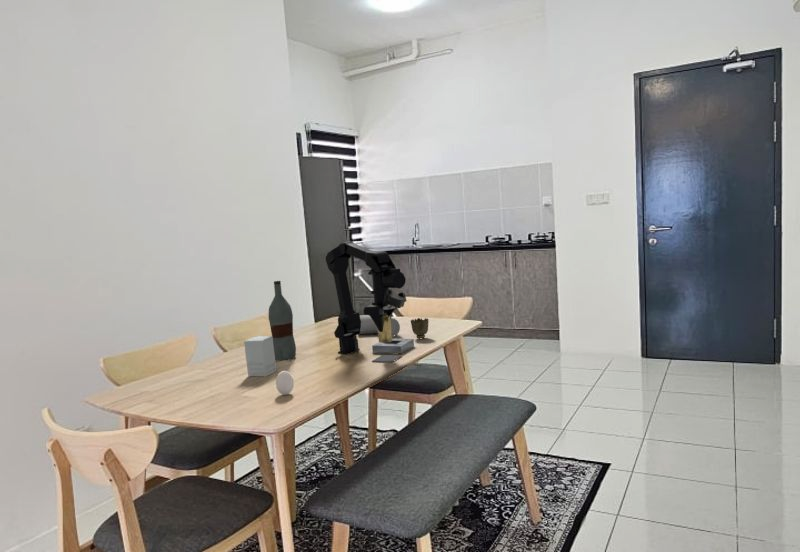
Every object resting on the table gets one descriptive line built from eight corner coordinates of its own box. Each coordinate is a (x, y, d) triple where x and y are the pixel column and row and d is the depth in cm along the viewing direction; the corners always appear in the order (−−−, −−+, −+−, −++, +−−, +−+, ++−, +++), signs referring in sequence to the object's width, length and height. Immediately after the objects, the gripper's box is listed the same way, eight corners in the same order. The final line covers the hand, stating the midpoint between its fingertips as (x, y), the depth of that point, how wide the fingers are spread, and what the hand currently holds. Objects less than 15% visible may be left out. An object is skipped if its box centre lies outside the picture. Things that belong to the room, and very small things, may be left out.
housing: (372, 353, 218) (372, 345, 217) (386, 345, 228) (386, 338, 228) (401, 354, 213) (400, 346, 212) (414, 346, 223) (413, 338, 223)
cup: (433, 336, 238) (431, 317, 237) (424, 340, 232) (422, 321, 231) (417, 336, 242) (416, 317, 241) (408, 339, 236) (407, 320, 235)
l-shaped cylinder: (406, 326, 260) (363, 328, 263) (403, 304, 256) (360, 307, 260) (399, 343, 243) (354, 345, 247) (396, 320, 240) (350, 322, 244)
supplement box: (277, 370, 203) (273, 335, 201) (265, 376, 196) (261, 340, 194) (259, 370, 205) (255, 335, 204) (247, 376, 198) (243, 340, 197)
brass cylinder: (376, 342, 204) (374, 316, 203) (382, 339, 209) (380, 313, 208) (388, 343, 202) (386, 316, 201) (394, 339, 207) (392, 313, 206)
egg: (279, 398, 170) (276, 374, 169) (275, 394, 174) (273, 370, 174) (296, 395, 172) (294, 371, 171) (292, 390, 177) (290, 367, 176)
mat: (372, 361, 204) (371, 360, 204) (382, 356, 212) (381, 355, 211) (392, 362, 201) (392, 361, 201) (401, 357, 208) (401, 355, 208)
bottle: (278, 355, 226) (271, 280, 223) (300, 355, 224) (293, 279, 221) (268, 361, 217) (260, 283, 214) (291, 361, 215) (283, 282, 212)
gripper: (389, 290, 192) (393, 336, 193) (412, 283, 209) (415, 325, 210) (360, 291, 196) (364, 335, 198) (384, 283, 213) (388, 324, 215)
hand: (384, 330), depth 205 cm, fingers closed on brass cylinder, 5 cm apart
